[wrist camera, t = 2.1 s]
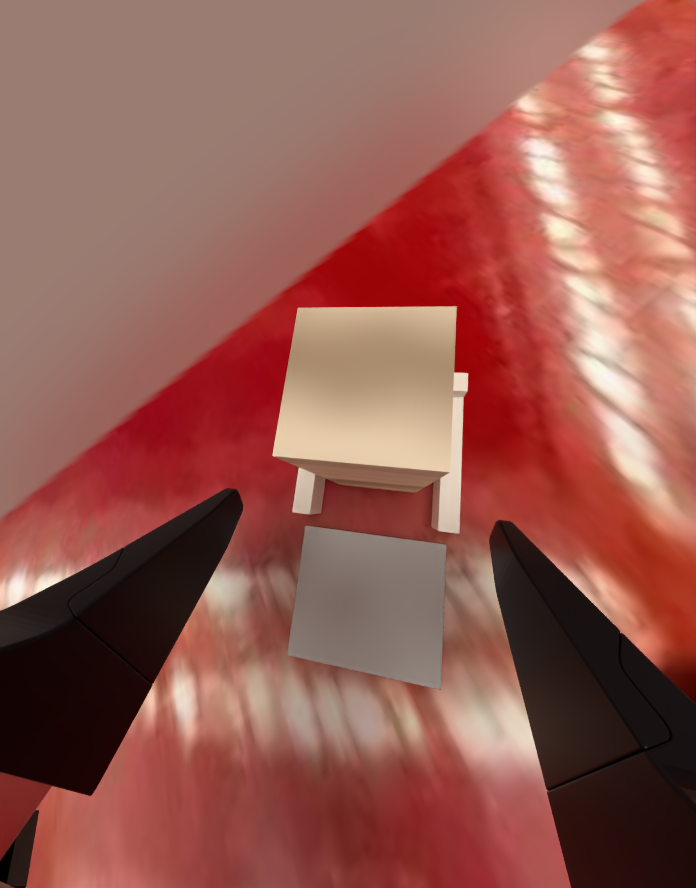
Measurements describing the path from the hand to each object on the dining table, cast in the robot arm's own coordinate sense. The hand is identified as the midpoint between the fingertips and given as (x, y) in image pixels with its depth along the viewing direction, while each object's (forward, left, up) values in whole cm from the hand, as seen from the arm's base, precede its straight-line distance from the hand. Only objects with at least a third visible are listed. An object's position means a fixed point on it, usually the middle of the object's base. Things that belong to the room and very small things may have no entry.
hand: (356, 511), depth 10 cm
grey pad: (-5, -3, -11) cm, 12 cm away
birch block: (+4, +2, -11) cm, 12 cm away
